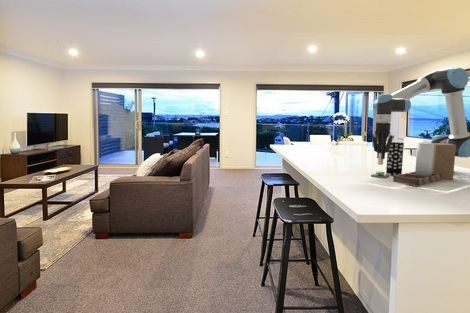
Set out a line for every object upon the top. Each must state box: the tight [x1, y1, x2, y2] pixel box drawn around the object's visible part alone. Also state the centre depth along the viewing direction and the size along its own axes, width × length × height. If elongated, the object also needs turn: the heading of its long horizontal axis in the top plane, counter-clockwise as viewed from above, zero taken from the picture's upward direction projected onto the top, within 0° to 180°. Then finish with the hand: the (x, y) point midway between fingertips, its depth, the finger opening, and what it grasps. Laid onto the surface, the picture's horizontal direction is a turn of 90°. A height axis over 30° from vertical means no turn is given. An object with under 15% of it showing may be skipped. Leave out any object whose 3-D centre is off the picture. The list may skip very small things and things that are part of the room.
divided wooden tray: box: [392, 171, 442, 188], centre depth 189 cm, size 26×13×4 cm, turn 127°
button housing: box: [370, 173, 390, 179], centre depth 199 cm, size 7×7×2 cm
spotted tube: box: [385, 141, 405, 177], centre depth 205 cm, size 8×8×20 cm
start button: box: [375, 170, 386, 175], centre depth 199 cm, size 4×4×3 cm
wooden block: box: [432, 143, 456, 181], centre depth 197 cm, size 10×10×20 cm
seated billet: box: [414, 142, 434, 176], centre depth 191 cm, size 8×8×20 cm
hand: (380, 164), depth 198 cm, fingers closed
